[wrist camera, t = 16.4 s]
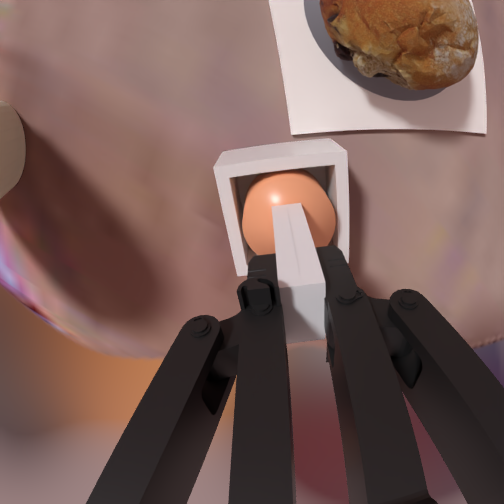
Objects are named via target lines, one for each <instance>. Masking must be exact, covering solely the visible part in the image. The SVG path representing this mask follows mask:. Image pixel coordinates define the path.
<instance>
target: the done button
mask: <svg viewBox="0 0 504 504" xmlns="http://www.w3.org/2000/svg"><path fill="white" fill-rule="evenodd" d="M294 203H301V205H302V208H303V211H304V214H305V217H306V220H307V223H308V226H309V230H310V233H311V236H312V239H313V242H314V245H315V247H323V246H327V245H328V244H329V242H330V241H331V239H332V237H333V234H334V231H335V226H336V218H335V212H334V208H333V206H332V204H331V202H330V200H329V198H328V197H327V195H326V193H325V191H324V190H323V188H322V186H321V185H320V183H319V181H318V180H317V179H316V178H315V177H314V176H313V175H312V174H311V173H309V172H308V171H306V170H304V169H302V168H297V169H289V170H280V171H272V172H265V173H260V174H259V175H258V176H257V177H256V178H255V179H254V180H253V181H252V183H251V184H250V186H249V188H248V190H247V193H246V197H245V204H244V212H243V220H242V228H243V233H244V237H245V239H246V242H247V243H248V245H249V246H250V248H251V249H252V250H253V251H254V252H255V253H256V254H257V255H265V254H273V253H276V251H275V239H274V228H273V217H272V206H278V205H286V204H294Z"/></svg>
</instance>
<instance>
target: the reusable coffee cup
mask: <svg viewBox="0 0 504 504" xmlns="http://www.w3.org/2000/svg"><path fill="white" fill-rule="evenodd" d="M25 156H26V143H25V135H24V130H23V126H22V123H21V120H20V118H19V116H18V114H17V112H16V111H15V109H14V108H13V107H12V106H11V105H10V104H8V103H7V102H4V101H0V199H1V198H2V197H3V196H4V195H5V194H6V193H7V192H9V191H10V190H11V189H12V188H13V187H14V186H15V185H16V184H17V183H18V181H19V180H20V177H21V175H22V172H23V168H24V164H25Z"/></svg>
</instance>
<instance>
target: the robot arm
mask: <svg viewBox="0 0 504 504" xmlns="http://www.w3.org/2000/svg"><path fill="white" fill-rule="evenodd" d="M272 217H273V228H274V239H275V251H276V253H273V254H265V255H257V256H253V257H252V259H251V260H250V261H249V263H248V274H247V280H246V281H244V282H242V283H241V284H240V285H239V287H238V289H237V295H238V299H239V303H240V307H241V311H240V312H239V313H238V314H237V315H235V316H233V317H231V318H229V319H226V320H223V321H220V322H219V321H218V320H217V319H216V318H215V317H213V316H209V315H200V316H197V317H194V318H192V319H190V320H189V321H187V322H186V323H185V325H184V326H183V327H182V329H181V331H180V332H179V334H178V336H177V337H176V339H175V341H174V343H173V344H172V346H171V348H170V350H169V351H168V353H167V355H166V357H165V358H164V360H163V362H162V364H161V366H160V367H159V370H158V371H157V373H156V374H155V376H154V378H153V380H152V382H151V383H150V385H149V387H148V389H147V390H146V392H145V394H144V396H143V398H142V400H141V401H140V403H139V405H138V407H137V408H136V410H135V412H134V414H133V416H132V418H131V420H130V421H129V423H128V425H127V427H126V429H125V430H124V433H123V434H122V436H121V438H120V440H119V442H118V443H117V445H116V447H115V449H114V451H113V453H112V455H111V456H110V459H109V460H108V462H107V464H106V466H105V468H104V470H103V472H102V474H101V475H100V477H99V479H98V481H97V483H96V485H95V487H94V489H93V491H92V493H91V495H90V497H89V499H88V501H87V503H86V504H187V501H188V499H189V496H190V494H191V492H192V488H193V487H194V484H195V482H196V479H197V477H198V474H199V472H200V469H201V467H202V464H203V462H204V459H205V457H206V454H207V452H208V449H209V447H210V444H211V442H212V439H213V436H214V434H215V431H216V429H217V426H218V423H219V421H220V418H221V416H222V413H223V410H224V407H225V405H226V402H227V399H228V397H229V394H230V392H231V389H232V386H233V384H234V381H235V378H236V375H237V380H236V394H235V409H234V425H233V439H232V456H231V470H230V486H229V503H228V504H296V487H295V464H294V444H293V426H292V411H291V396H290V382H289V367H288V355H287V346H286V344H288V343H297V342H305V341H313V340H320V339H325V333H326V338H327V357H326V362H329V364H330V370H331V376H332V381H333V387H334V393H335V399H336V405H337V411H338V418H339V424H340V430H341V437H342V445H343V452H344V460H345V468H346V476H347V485H348V494H349V504H438V503H437V502H436V501H435V500H434V499H432V498H431V497H430V495H429V494H428V490H427V486H426V481H425V476H424V472H423V467H422V463H421V459H420V455H419V451H418V447H417V442H416V439H415V435H414V432H413V428H412V424H411V420H410V417H409V413H408V410H407V407H406V403H405V401H404V397H403V394H402V392H403V393H404V395H405V397H406V398H407V400H408V401H409V403H410V405H411V406H412V408H413V409H414V411H415V413H416V414H417V416H418V417H419V419H420V421H421V422H422V424H423V426H424V427H425V429H426V431H427V432H428V434H429V435H430V437H431V439H432V441H433V442H434V444H435V446H436V448H437V449H438V451H439V453H440V454H441V456H442V458H443V460H444V461H445V463H446V465H447V467H448V468H449V470H450V472H451V474H452V476H453V477H454V479H455V481H456V483H457V485H458V486H459V488H460V490H461V492H462V494H463V496H464V498H465V500H466V501H467V503H468V504H504V388H503V386H502V385H501V384H500V383H499V381H498V380H497V379H496V377H495V376H494V375H493V374H492V372H491V371H490V370H489V369H488V367H487V366H486V365H485V364H484V363H483V361H482V360H481V359H480V358H479V357H478V356H477V354H476V353H475V352H474V351H473V349H472V348H471V347H470V346H469V345H468V344H467V342H466V341H465V340H464V339H463V338H462V337H461V336H460V335H459V333H458V332H457V331H456V330H455V329H454V328H453V327H452V326H451V325H450V323H449V322H448V321H447V320H446V319H445V318H444V317H443V316H442V315H441V314H440V313H439V312H438V311H437V310H436V308H435V307H434V306H433V305H432V304H431V303H430V302H429V301H428V300H427V299H426V298H425V297H424V296H423V295H422V294H420V293H419V292H417V291H414V290H411V289H401V290H397V291H396V292H394V293H393V294H392V295H391V297H390V300H386V299H376V298H371V297H368V296H367V295H366V294H365V292H364V291H363V290H362V289H360V288H359V287H357V285H356V283H355V281H354V278H353V276H352V273H351V271H350V269H349V266H348V264H347V262H346V259H345V257H344V255H343V252H342V251H341V250H340V249H339V248H338V247H336V246H335V245H331V246H323V247H315V245H314V242H313V239H312V236H311V233H310V230H309V226H308V223H307V220H306V217H305V214H304V211H303V208H302V205H301V203H294V204H286V205H278V206H272Z"/></svg>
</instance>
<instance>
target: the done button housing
mask: <svg viewBox="0 0 504 504" xmlns="http://www.w3.org/2000/svg"><path fill="white" fill-rule="evenodd" d="M213 168H214V173H215V177H216V182H217V187H218V191H219V196H220V200H221V205H222V209H223V214H224V218H225V223H226V227H227V232H228V236H229V241H230V245H231V250H232V254H233V258H234V263H235V267H236V271H237V276H245V275H247V274H248V263H249V261H250V260H251V259H252V257H253V256H257V254H256V253H255V252H254V251H253V250H252V249H251V248H250V246H249V245H248V243H247V242H246V239H245V237H244V233H243V228H242V220H243V212H244V204H245V197H246V193H247V190H248V188H249V186H250V184H251V183H252V181H253V180H254V179H255V178H256V177H257V176H258V175H259V174H260V173H265V172H272V171H280V170H289V169H297V168H302V169H304V170H306V171H308V172H309V173H311V174H312V175H313V176H314V177H315V178H316V179H317V180H318V181H319V183H320V185H321V186H322V188H323V190H324V191H325V193H326V195H327V197H328V198H329V200H330V202H331V204H332V206H333V208H334V212H335V218H336V226H335V231H334V234H333V237H332V239H331V241H330V242H329V244H328V245H327V246H331V245H335V246H336V247H338V248H339V249H340V250H341V251H342V252H343V255H344V257H345V259H346V262H347V263H349V182H348V160H347V151H346V150H345V149H344V148H342V147H341V146H340V145H338V144H337V143H336V142H334V141H333V140H332V139H330V138H326V139H314V140H303V141H294V142H285V143H277V144H269V145H261V146H254V147H247V148H241V149H235V150H229V151H223V152H222V154H221V155H220V157H219V159H218V160H217V162H216V164H215V166H214V167H213Z"/></svg>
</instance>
